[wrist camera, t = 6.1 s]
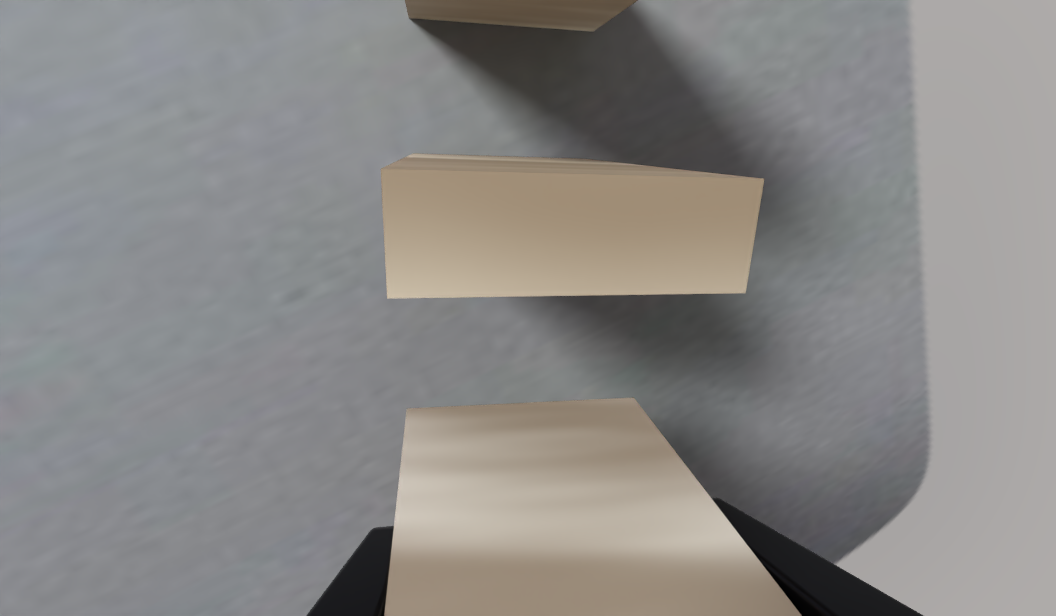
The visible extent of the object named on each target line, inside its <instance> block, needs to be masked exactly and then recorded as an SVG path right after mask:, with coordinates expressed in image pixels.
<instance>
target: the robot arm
mask: <svg viewBox="0 0 1056 616" xmlns="http://www.w3.org/2000/svg"><path fill="white" fill-rule="evenodd" d="M711 499H712V500H713V501H714V502H715V504H716V505H717V506H718V508H719V509H720V510H721V512H722V513H723V514H724V515H725V517H726V518H727V519H728V521H729V522H730V523H731V524H732V526H733V527H734V528H735V530H736V531H737V532H738V534H739V535H740V536H741V537H742V539H743V540H744V541H745V543H746V544H747V545H748V547H749V548H750V549H751V550H752V552H753V553H754V554H755V556H756V557H757V558H758V559H759V561H760V562H761V563H762V565H763V566H764V567H765V569H766V570H767V571H768V572H769V574H770V575H771V576H772V578H773V579H774V580H775V582H776V583H777V584H778V585H779V587H780V588H781V589H782V591H783V592H784V593H785V595H786V596H787V597H788V598H789V600H790V601H791V602H792V604H793V605H794V606H795V607H796V609H797V610H798V611H799V613H800V614H801V615H802V616H923V615H921V614H920V613H917V612H916V611H914V610H913V609H911V608H909V607H907V606H906V605H904V604H902V603H900V602H899V601H897V600H895V599H893V598H892V597H890V596H888V595H887V594H884V593H883V592H881V591H880V590H878V589H876V588H874V587H872V586H871V585H869V584H867V583H866V582H864V581H862V580H860V579H859V578H857V577H855V576H853V575H852V574H850V573H848V572H846V571H844V570H843V569H841V568H839V567H837V566H836V565H834V564H832V563H831V562H829V561H827V560H825V559H824V558H822V557H820V556H819V555H817V554H815V553H813V552H812V551H810V550H808V549H806V548H805V547H803V546H801V545H799V544H798V543H796V542H794V541H792V540H791V539H789V538H787V537H785V536H784V535H782V534H780V533H778V532H777V531H775V530H773V529H771V528H770V527H768V526H766V525H764V524H763V523H761V522H759V521H757V520H756V519H754V518H752V517H750V516H749V515H747V514H745V513H744V512H742V511H740V510H738V509H737V508H735V507H733V506H731V505H730V504H728V503H726V502H724V501H723V500H721V499H718V498H711ZM393 531H394V526H387V527H376V528H373V529H372V530H371V531H370V532H369V533H368V535H367V536H366V537H365V539H364V540H363V541H362V543H361V544H360V545H359V547H358V548H357V549H356V551H355V552H354V553H353V555H352V556H351V557H350V559H349V560H348V561H347V563H346V564H345V565H344V566H343V568H342V569H341V570H340V572H339V573H338V574H337V576H336V577H335V578H334V580H333V581H332V582H331V584H330V585H329V586H328V588H327V589H326V590H325V592H324V593H323V594H322V596H321V597H320V598H319V600H318V601H317V602H316V604H315V605H314V606H313V608H312V609H311V610H310V612H309V613H308V614H307V616H384V614H385V604H386V595H387V586H388V577H389V568H390V558H391V549H392V540H393Z"/></svg>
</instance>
